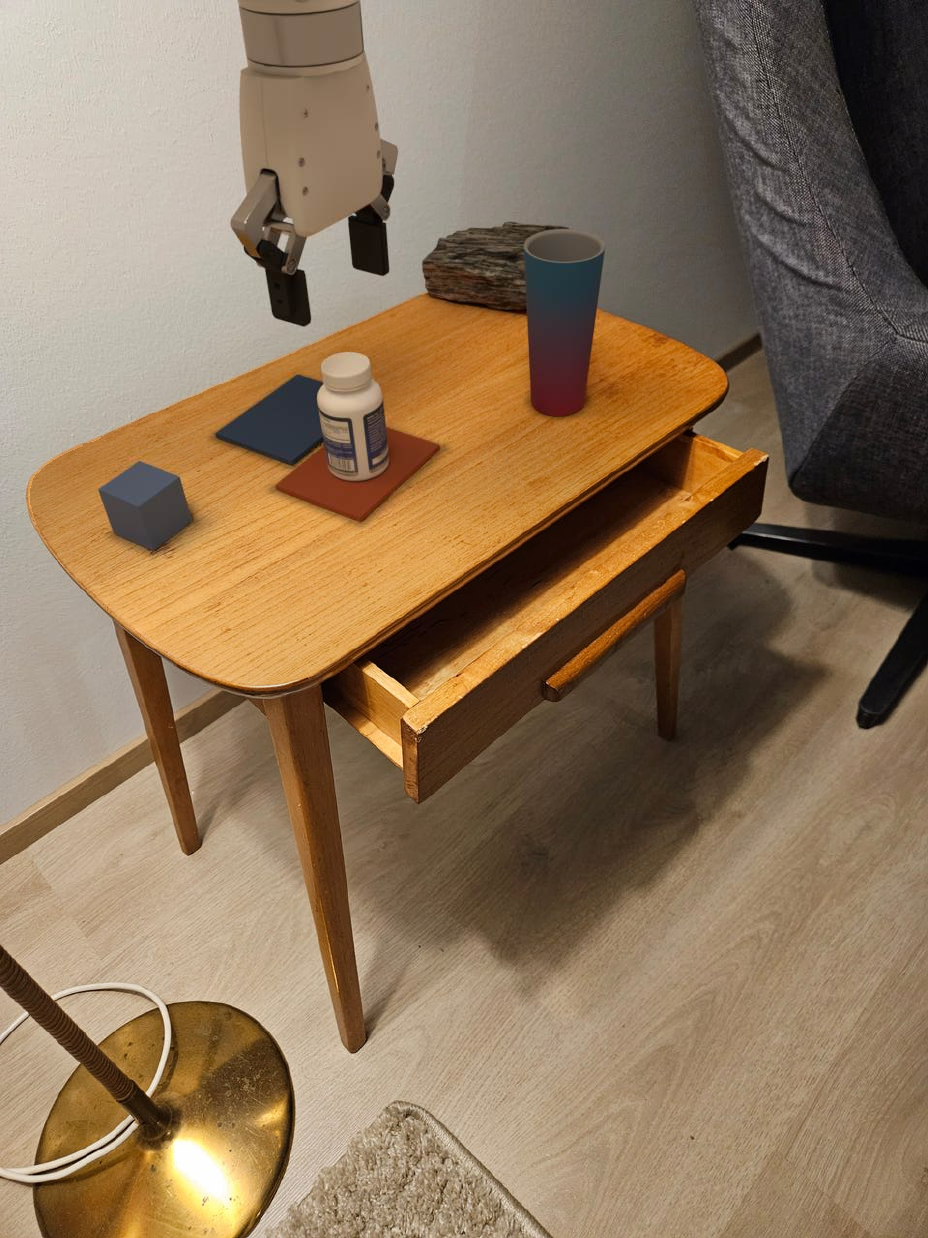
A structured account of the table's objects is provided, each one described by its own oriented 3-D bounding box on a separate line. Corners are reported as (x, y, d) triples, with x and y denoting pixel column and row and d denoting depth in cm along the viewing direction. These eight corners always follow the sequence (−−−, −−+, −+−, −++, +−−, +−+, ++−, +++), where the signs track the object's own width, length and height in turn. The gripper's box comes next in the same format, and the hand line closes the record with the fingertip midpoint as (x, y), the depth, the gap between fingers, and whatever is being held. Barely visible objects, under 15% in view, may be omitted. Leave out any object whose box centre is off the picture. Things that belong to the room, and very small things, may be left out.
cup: (511, 390, 92) (512, 235, 82) (577, 378, 94) (586, 223, 83) (536, 427, 88) (540, 267, 77) (605, 413, 89) (618, 254, 79)
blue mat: (292, 465, 85) (291, 460, 84) (215, 437, 88) (214, 433, 88) (371, 401, 92) (371, 397, 91) (298, 378, 95) (297, 373, 95)
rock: (464, 262, 114) (460, 210, 110) (590, 278, 109) (591, 223, 104) (420, 305, 106) (414, 250, 102) (553, 324, 101) (553, 267, 97)
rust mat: (360, 522, 79) (360, 517, 78) (275, 489, 82) (274, 485, 82) (440, 449, 86) (439, 444, 85) (358, 422, 89) (358, 417, 89)
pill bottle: (380, 442, 86) (370, 341, 79) (396, 475, 82) (387, 373, 75) (321, 454, 85) (305, 353, 78) (335, 488, 81) (319, 386, 74)
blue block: (153, 551, 77) (138, 506, 73) (113, 534, 78) (97, 489, 75) (192, 520, 79) (180, 476, 76) (153, 504, 81) (139, 460, 78)
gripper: (338, 2, 68) (360, 245, 79) (162, 60, 57) (217, 330, 69) (428, 13, 65) (437, 263, 76) (259, 76, 54) (300, 355, 66)
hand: (333, 295), depth 72 cm, fingers open, 9 cm apart
